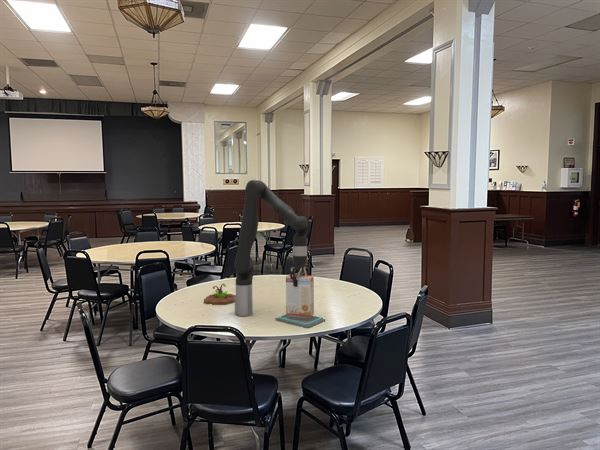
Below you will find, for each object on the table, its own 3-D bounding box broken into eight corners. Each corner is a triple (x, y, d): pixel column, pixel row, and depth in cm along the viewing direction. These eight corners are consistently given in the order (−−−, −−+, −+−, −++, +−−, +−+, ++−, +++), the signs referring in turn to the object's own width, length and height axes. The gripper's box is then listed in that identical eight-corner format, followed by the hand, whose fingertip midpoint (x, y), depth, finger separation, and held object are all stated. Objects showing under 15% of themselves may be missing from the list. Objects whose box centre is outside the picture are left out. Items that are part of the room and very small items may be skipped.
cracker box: (314, 314, 231) (314, 275, 229) (310, 317, 226) (310, 278, 224) (290, 311, 236) (289, 273, 234) (285, 314, 231) (285, 275, 229)
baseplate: (275, 320, 232) (275, 316, 232) (293, 313, 244) (293, 310, 244) (308, 328, 219) (308, 324, 219) (325, 321, 230) (325, 317, 230)
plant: (230, 306, 260) (230, 288, 259) (200, 304, 264) (199, 286, 263) (241, 297, 280) (241, 280, 279) (212, 296, 284) (212, 279, 283)
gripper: (296, 256, 220) (296, 289, 222) (313, 253, 231) (313, 283, 233) (285, 255, 225) (285, 286, 226) (302, 251, 236) (302, 282, 238)
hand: (299, 285), depth 230 cm, fingers closed on cracker box, 7 cm apart
